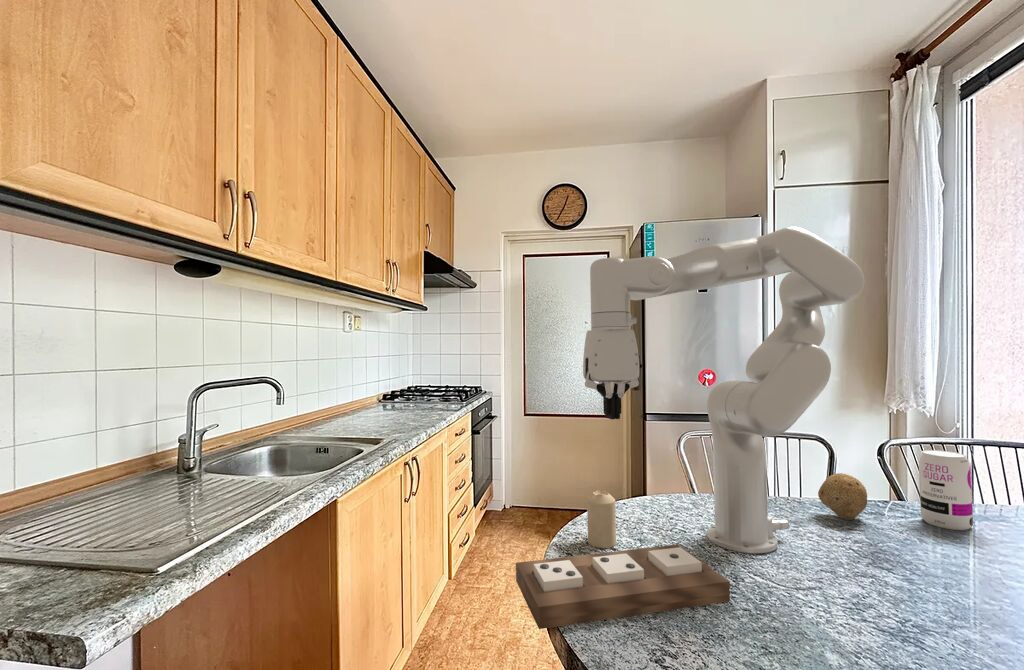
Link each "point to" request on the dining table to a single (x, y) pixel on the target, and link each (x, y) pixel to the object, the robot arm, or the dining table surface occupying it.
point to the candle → (601, 520)
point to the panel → (618, 591)
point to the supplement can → (946, 489)
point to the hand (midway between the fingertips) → (612, 418)
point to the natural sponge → (843, 495)
